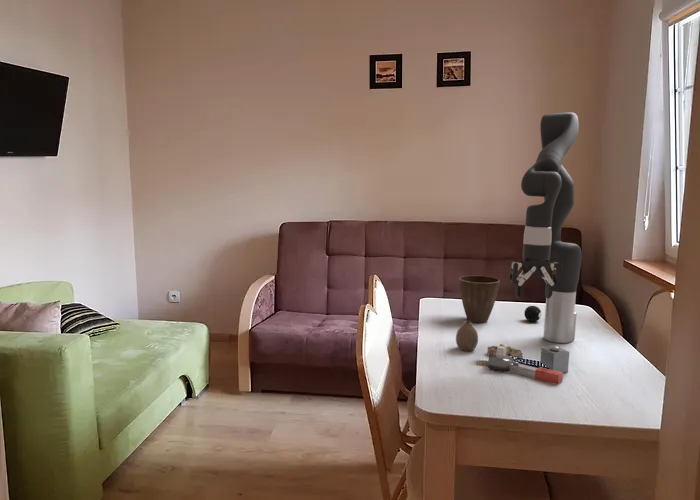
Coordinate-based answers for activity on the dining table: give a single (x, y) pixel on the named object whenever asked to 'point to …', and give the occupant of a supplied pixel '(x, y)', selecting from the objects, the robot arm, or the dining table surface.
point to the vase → (467, 337)
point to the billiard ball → (532, 313)
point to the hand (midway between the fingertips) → (533, 298)
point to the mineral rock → (509, 351)
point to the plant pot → (478, 296)
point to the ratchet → (521, 367)
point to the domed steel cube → (555, 358)
